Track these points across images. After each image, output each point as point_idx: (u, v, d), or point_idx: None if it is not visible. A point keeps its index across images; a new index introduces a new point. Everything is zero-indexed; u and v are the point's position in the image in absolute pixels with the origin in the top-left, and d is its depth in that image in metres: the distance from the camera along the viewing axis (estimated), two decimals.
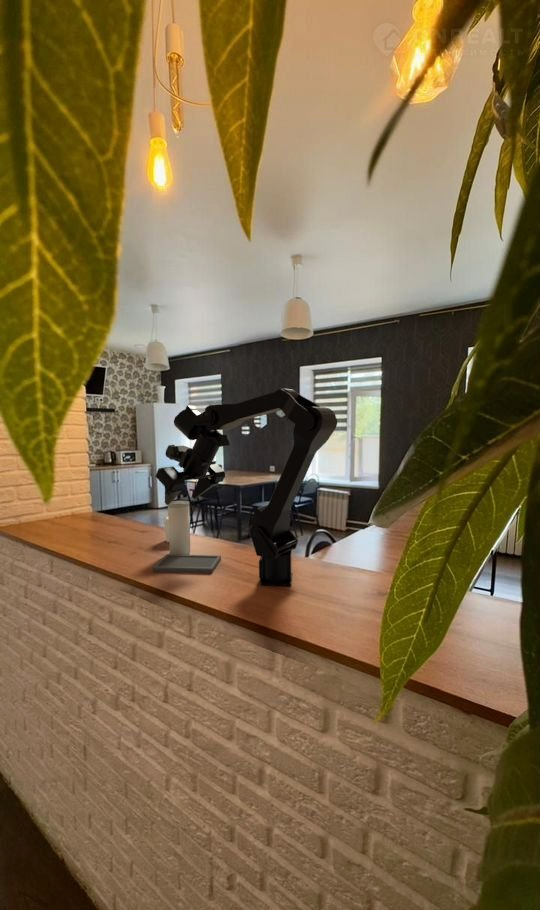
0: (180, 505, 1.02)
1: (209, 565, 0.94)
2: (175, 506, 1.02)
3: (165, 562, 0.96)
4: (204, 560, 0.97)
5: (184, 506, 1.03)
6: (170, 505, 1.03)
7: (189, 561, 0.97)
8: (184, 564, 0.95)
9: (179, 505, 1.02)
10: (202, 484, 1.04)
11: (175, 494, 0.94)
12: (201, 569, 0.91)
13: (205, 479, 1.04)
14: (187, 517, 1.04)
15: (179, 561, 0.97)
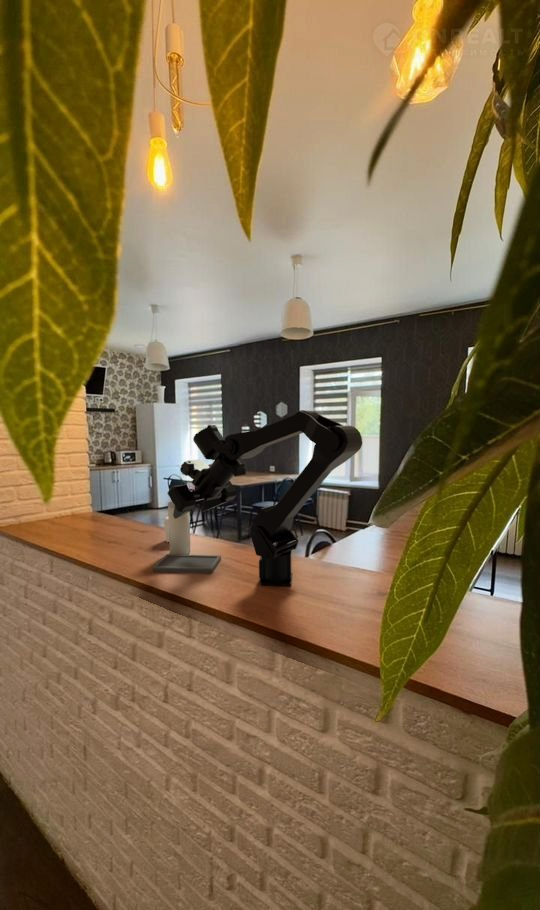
0: None
1: (209, 565, 0.94)
2: None
3: (165, 562, 0.96)
4: (204, 560, 0.97)
5: None
6: (170, 505, 1.03)
7: (189, 561, 0.97)
8: (184, 564, 0.95)
9: None
10: (212, 500, 1.04)
11: (184, 513, 0.94)
12: (201, 569, 0.91)
13: None
14: (187, 517, 1.04)
15: (179, 561, 0.97)
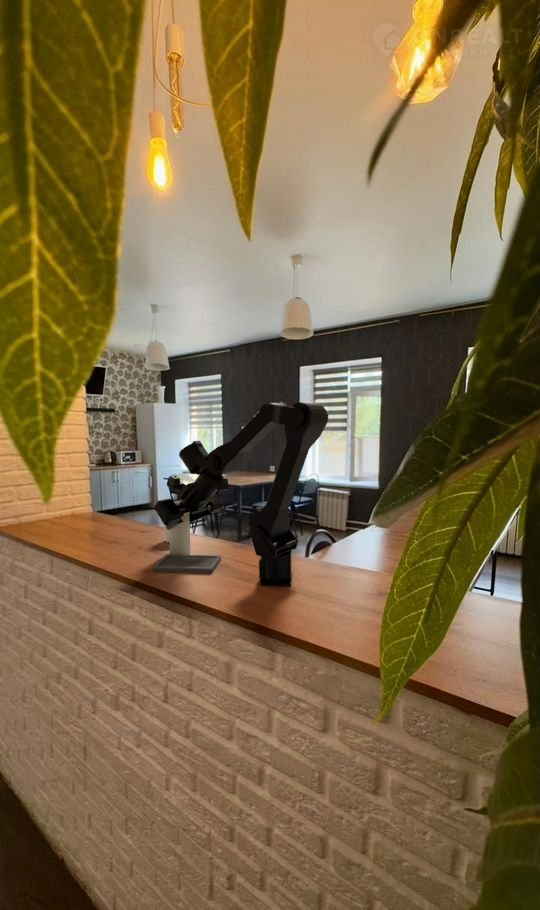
0: None
1: (209, 565, 0.94)
2: None
3: (165, 562, 0.96)
4: (204, 560, 0.97)
5: None
6: None
7: (189, 561, 0.97)
8: (184, 564, 0.95)
9: None
10: (194, 513, 1.06)
11: (176, 524, 0.99)
12: (201, 569, 0.91)
13: None
14: (187, 517, 1.04)
15: (179, 561, 0.97)
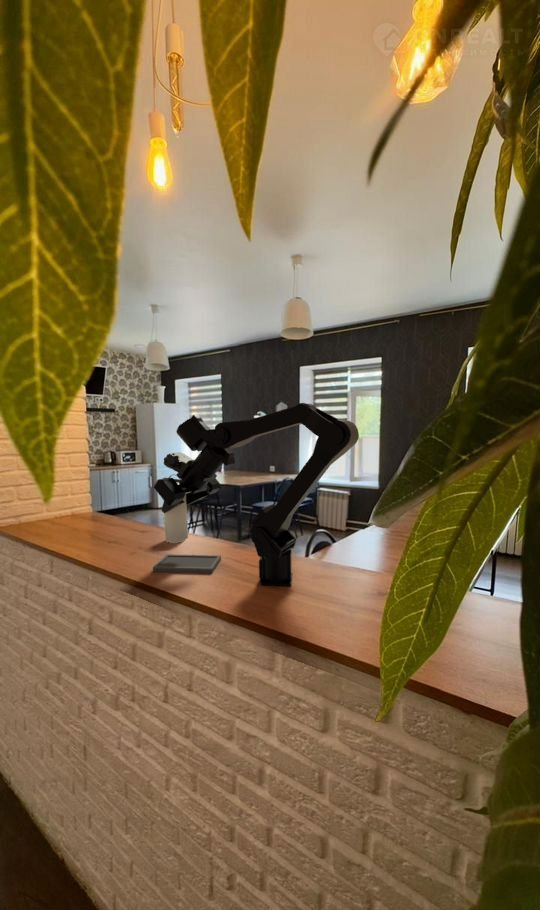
0: None
1: (209, 565, 0.94)
2: None
3: (165, 562, 0.96)
4: (204, 560, 0.97)
5: None
6: None
7: (189, 561, 0.97)
8: (184, 564, 0.95)
9: None
10: (191, 495, 0.99)
11: (176, 505, 0.92)
12: (201, 569, 0.91)
13: None
14: (185, 498, 0.97)
15: (179, 561, 0.97)
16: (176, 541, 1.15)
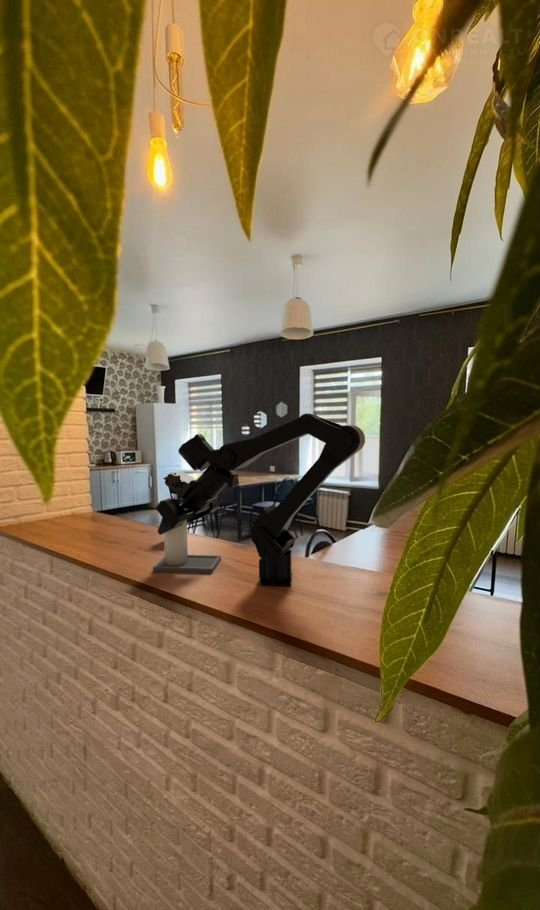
0: None
1: (209, 565, 0.94)
2: None
3: None
4: (204, 560, 0.97)
5: None
6: None
7: (189, 561, 0.97)
8: (184, 564, 0.95)
9: None
10: (193, 513, 0.99)
11: (174, 528, 0.89)
12: (201, 569, 0.91)
13: None
14: (185, 522, 0.95)
15: None
16: None
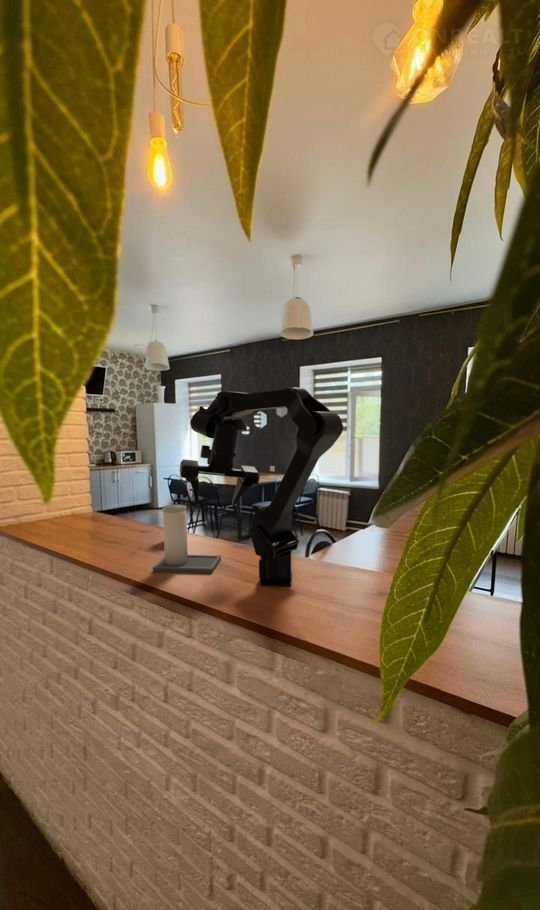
0: (179, 509, 0.93)
1: (209, 565, 0.94)
2: (174, 511, 0.93)
3: None
4: (204, 560, 0.97)
5: (183, 510, 0.94)
6: (167, 510, 0.93)
7: (189, 561, 0.97)
8: (184, 564, 0.95)
9: (178, 509, 0.93)
10: (237, 488, 0.99)
11: (193, 486, 0.93)
12: (201, 569, 0.91)
13: (239, 482, 0.98)
14: (185, 522, 0.95)
15: None
16: None
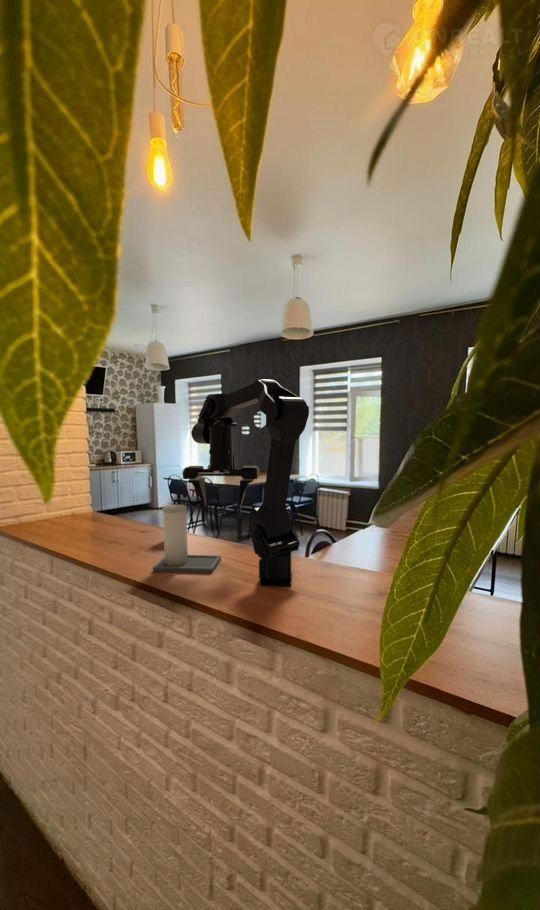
0: (179, 509, 0.93)
1: (209, 565, 0.94)
2: (174, 511, 0.93)
3: None
4: (204, 560, 0.97)
5: (183, 510, 0.94)
6: (167, 510, 0.93)
7: (189, 561, 0.97)
8: (184, 564, 0.95)
9: (178, 509, 0.93)
10: None
11: (196, 486, 1.00)
12: (201, 569, 0.91)
13: None
14: (185, 522, 0.95)
15: None
16: None
